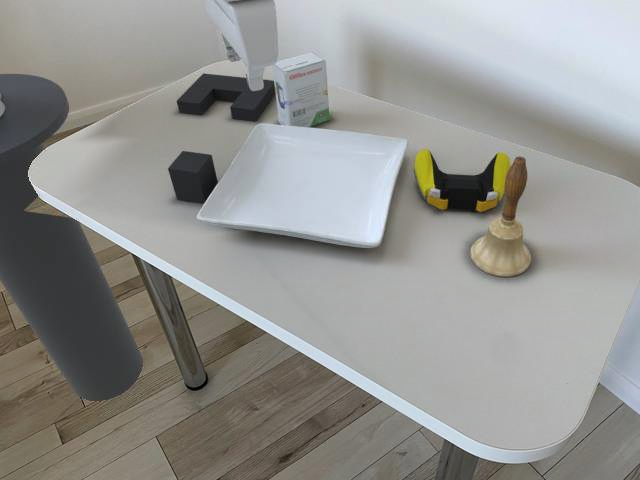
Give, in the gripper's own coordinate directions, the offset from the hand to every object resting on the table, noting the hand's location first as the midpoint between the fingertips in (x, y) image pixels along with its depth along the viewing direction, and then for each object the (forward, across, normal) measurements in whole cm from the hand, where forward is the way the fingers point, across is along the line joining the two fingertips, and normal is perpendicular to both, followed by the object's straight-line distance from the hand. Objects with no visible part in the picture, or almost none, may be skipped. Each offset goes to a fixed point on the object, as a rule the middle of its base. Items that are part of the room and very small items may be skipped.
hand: (244, 73), depth 74 cm
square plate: (+20, +3, +7) cm, 22 cm away
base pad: (+20, -32, +4) cm, 38 cm away
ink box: (+20, -18, +14) cm, 31 cm away
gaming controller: (+20, +14, +28) cm, 37 cm away
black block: (+20, -5, -9) cm, 23 cm away
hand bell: (+20, +29, +25) cm, 43 cm away
